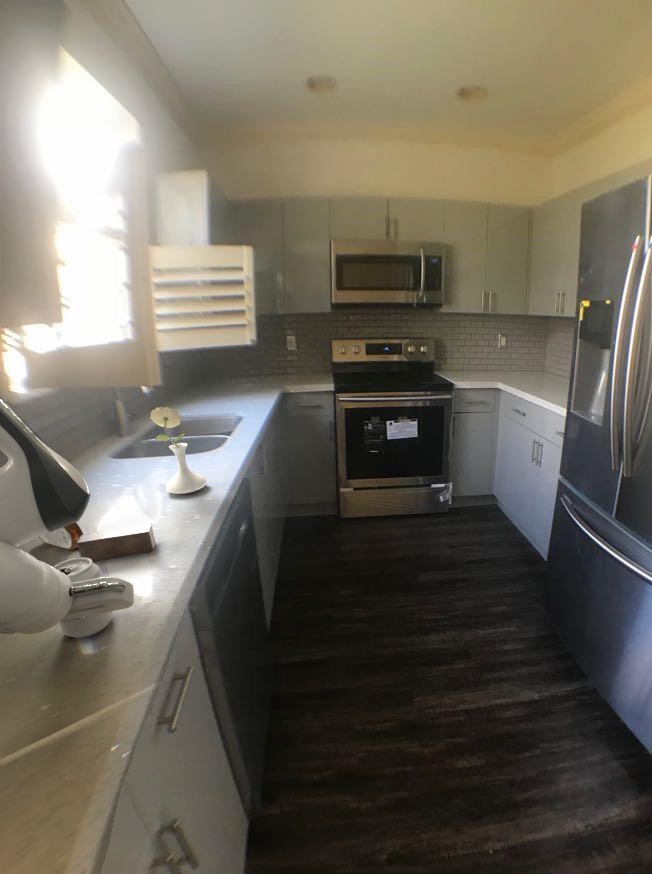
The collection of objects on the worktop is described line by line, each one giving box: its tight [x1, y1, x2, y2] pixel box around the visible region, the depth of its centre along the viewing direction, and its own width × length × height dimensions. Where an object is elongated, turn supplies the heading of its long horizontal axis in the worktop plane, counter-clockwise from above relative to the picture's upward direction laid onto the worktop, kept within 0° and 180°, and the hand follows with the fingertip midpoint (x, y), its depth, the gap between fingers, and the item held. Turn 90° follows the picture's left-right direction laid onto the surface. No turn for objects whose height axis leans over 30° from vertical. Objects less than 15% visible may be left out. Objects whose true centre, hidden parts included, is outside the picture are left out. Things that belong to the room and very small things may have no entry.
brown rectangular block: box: [77, 523, 157, 563], centre depth 101 cm, size 14×4×5 cm, turn 108°
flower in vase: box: [149, 406, 208, 495], centre depth 132 cm, size 13×11×25 cm
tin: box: [38, 522, 84, 551], centre depth 105 cm, size 15×3×8 cm, turn 65°
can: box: [53, 557, 114, 639], centre depth 77 cm, size 8×8×12 cm
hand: (75, 615), depth 73 cm, fingers closed, pressing on can
